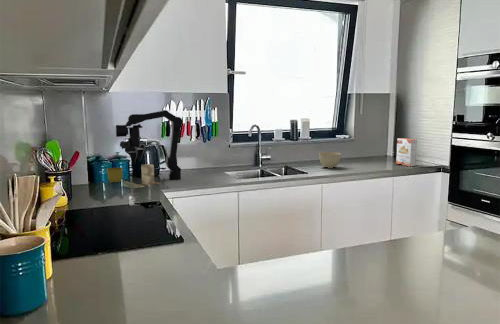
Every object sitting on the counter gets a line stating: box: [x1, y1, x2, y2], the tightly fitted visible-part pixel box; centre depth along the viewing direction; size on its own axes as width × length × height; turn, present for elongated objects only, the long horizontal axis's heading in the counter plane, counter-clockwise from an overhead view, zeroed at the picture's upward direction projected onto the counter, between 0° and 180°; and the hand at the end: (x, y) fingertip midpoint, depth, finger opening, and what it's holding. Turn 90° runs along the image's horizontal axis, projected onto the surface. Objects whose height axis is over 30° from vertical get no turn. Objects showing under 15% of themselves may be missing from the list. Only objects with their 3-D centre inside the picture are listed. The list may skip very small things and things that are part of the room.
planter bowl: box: [318, 151, 342, 169], centre depth 290 cm, size 16×16×11 cm
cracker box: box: [395, 137, 418, 167], centre depth 297 cm, size 14×6×21 cm, turn 25°
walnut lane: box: [122, 180, 162, 189], centre depth 221 cm, size 19×10×4 cm, turn 138°
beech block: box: [140, 163, 155, 186], centre depth 223 cm, size 5×5×11 cm
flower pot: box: [106, 167, 123, 184], centre depth 233 cm, size 9×9×9 cm
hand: (136, 162), depth 229 cm, fingers open, 9 cm apart
